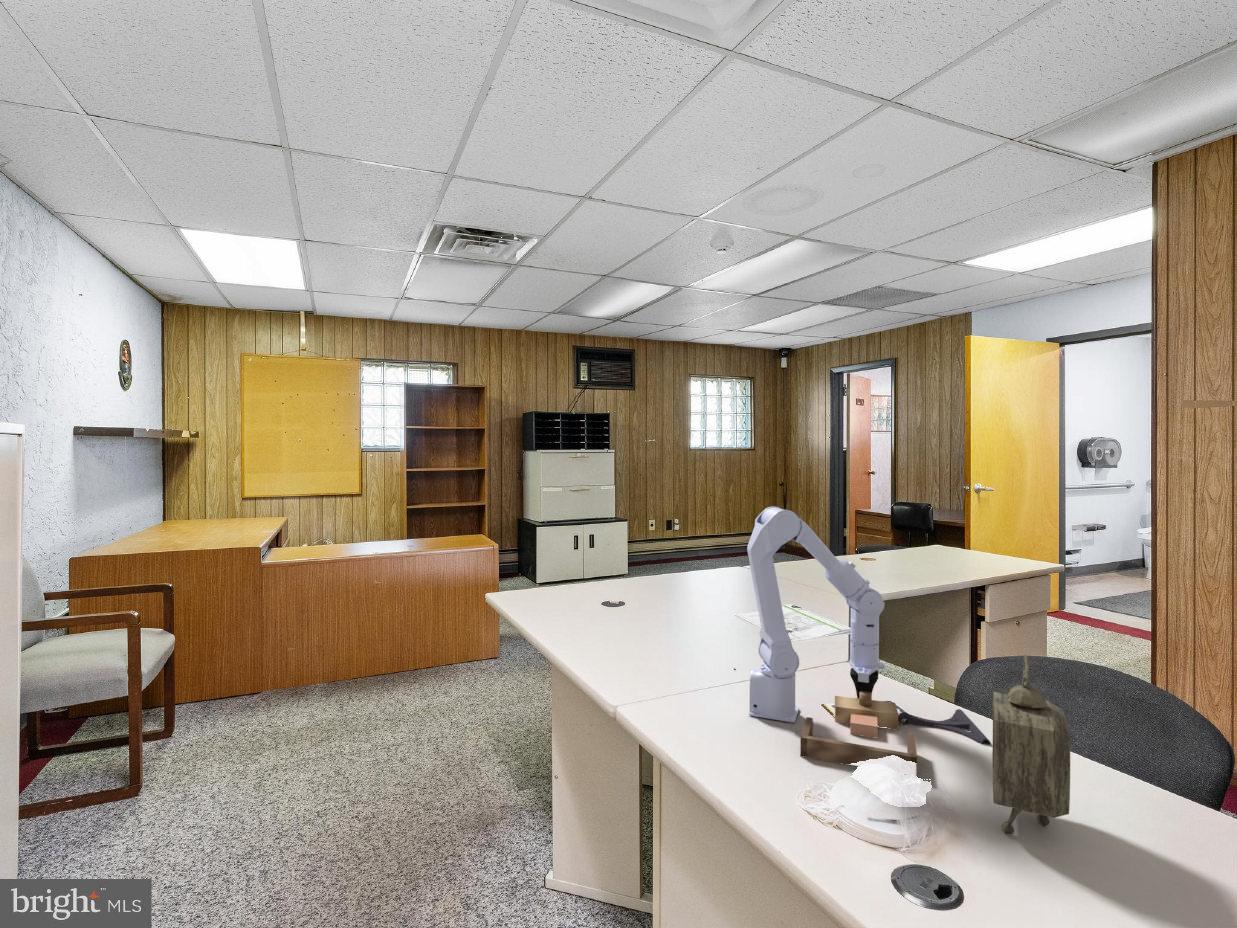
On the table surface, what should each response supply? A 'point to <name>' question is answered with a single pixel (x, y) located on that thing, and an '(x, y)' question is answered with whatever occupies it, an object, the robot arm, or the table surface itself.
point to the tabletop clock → (1030, 754)
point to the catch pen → (847, 748)
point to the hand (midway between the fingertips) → (864, 704)
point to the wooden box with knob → (866, 709)
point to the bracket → (948, 725)
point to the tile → (863, 725)
